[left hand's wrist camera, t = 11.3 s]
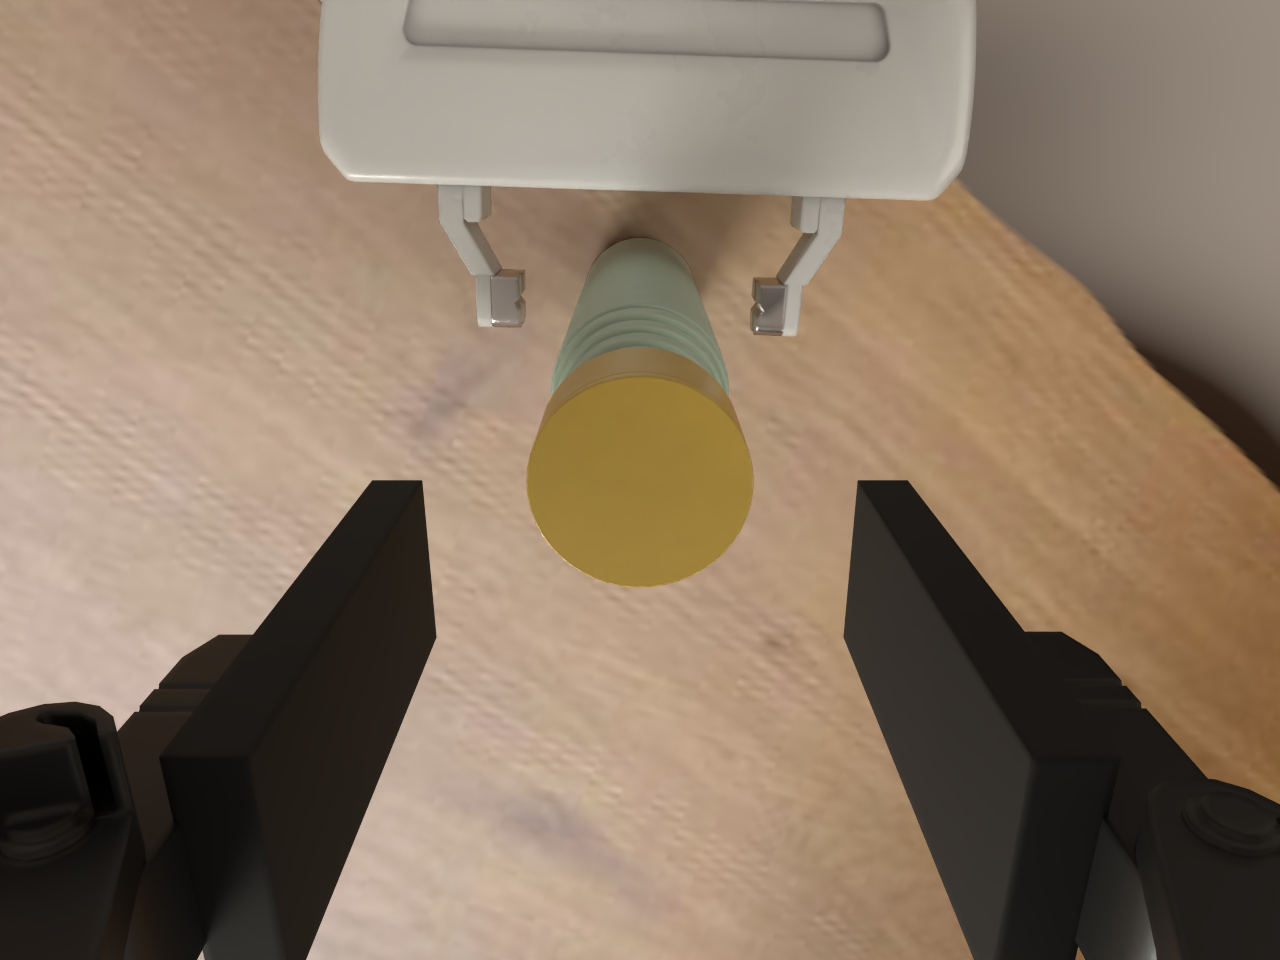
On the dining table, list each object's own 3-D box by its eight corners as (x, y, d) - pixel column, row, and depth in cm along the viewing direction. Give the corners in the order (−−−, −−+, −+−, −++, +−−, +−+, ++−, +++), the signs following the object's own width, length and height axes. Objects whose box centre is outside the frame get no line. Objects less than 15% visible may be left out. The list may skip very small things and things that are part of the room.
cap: (780, 416, 19) (798, 453, 17) (669, 570, 20) (672, 624, 18) (607, 306, 18) (603, 331, 16) (503, 474, 20) (485, 518, 17)
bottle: (716, 277, 38) (806, 444, 17) (656, 368, 39) (674, 623, 19) (622, 215, 37) (601, 315, 16) (564, 311, 38) (477, 512, 18)
